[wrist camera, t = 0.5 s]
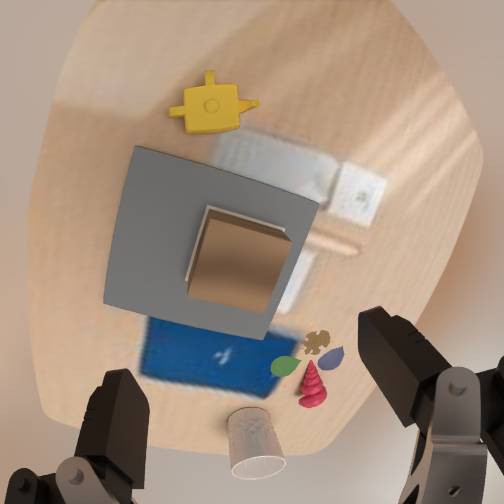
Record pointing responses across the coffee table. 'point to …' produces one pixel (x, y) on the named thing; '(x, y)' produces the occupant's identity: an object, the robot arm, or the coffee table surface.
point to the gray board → (191, 239)
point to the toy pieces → (311, 368)
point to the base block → (237, 262)
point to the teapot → (211, 107)
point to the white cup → (253, 445)
